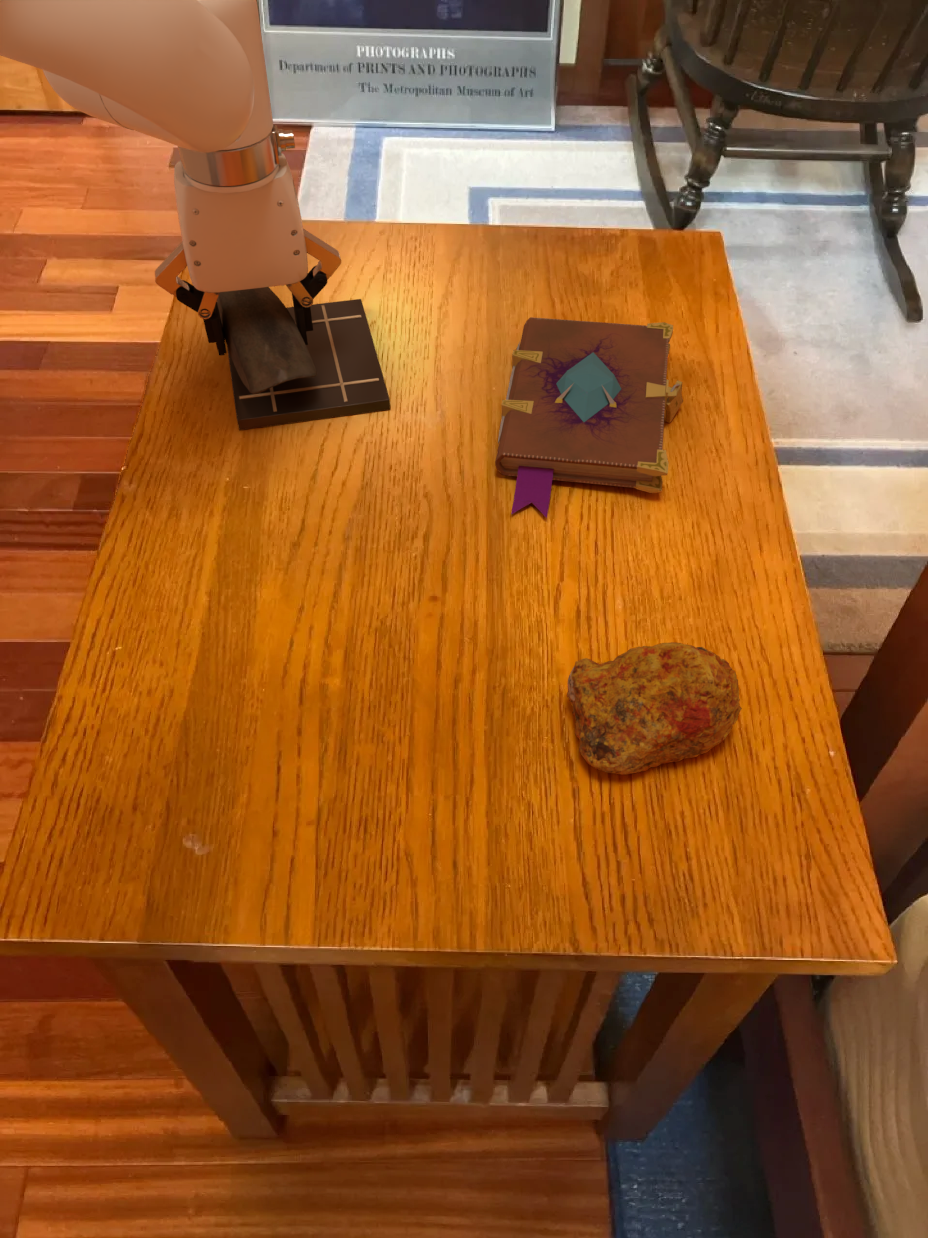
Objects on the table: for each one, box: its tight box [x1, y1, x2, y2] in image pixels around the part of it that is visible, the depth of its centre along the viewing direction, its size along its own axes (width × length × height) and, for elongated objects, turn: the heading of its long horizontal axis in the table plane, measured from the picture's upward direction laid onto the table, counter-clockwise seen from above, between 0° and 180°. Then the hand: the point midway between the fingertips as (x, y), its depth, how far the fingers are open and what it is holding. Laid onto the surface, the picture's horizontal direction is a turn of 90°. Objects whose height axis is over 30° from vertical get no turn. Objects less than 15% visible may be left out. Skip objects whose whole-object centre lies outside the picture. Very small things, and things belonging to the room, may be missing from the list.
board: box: [226, 298, 391, 431], centre depth 90 cm, size 14×16×1 cm
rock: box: [566, 641, 743, 776], centre depth 65 cm, size 11×8×10 cm
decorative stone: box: [217, 287, 317, 394], centre depth 86 cm, size 17×6×4 cm, turn 25°
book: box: [494, 316, 684, 519], centre depth 84 cm, size 16×25×5 cm, turn 171°
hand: (262, 339), depth 87 cm, fingers closed on decorative stone, 6 cm apart
